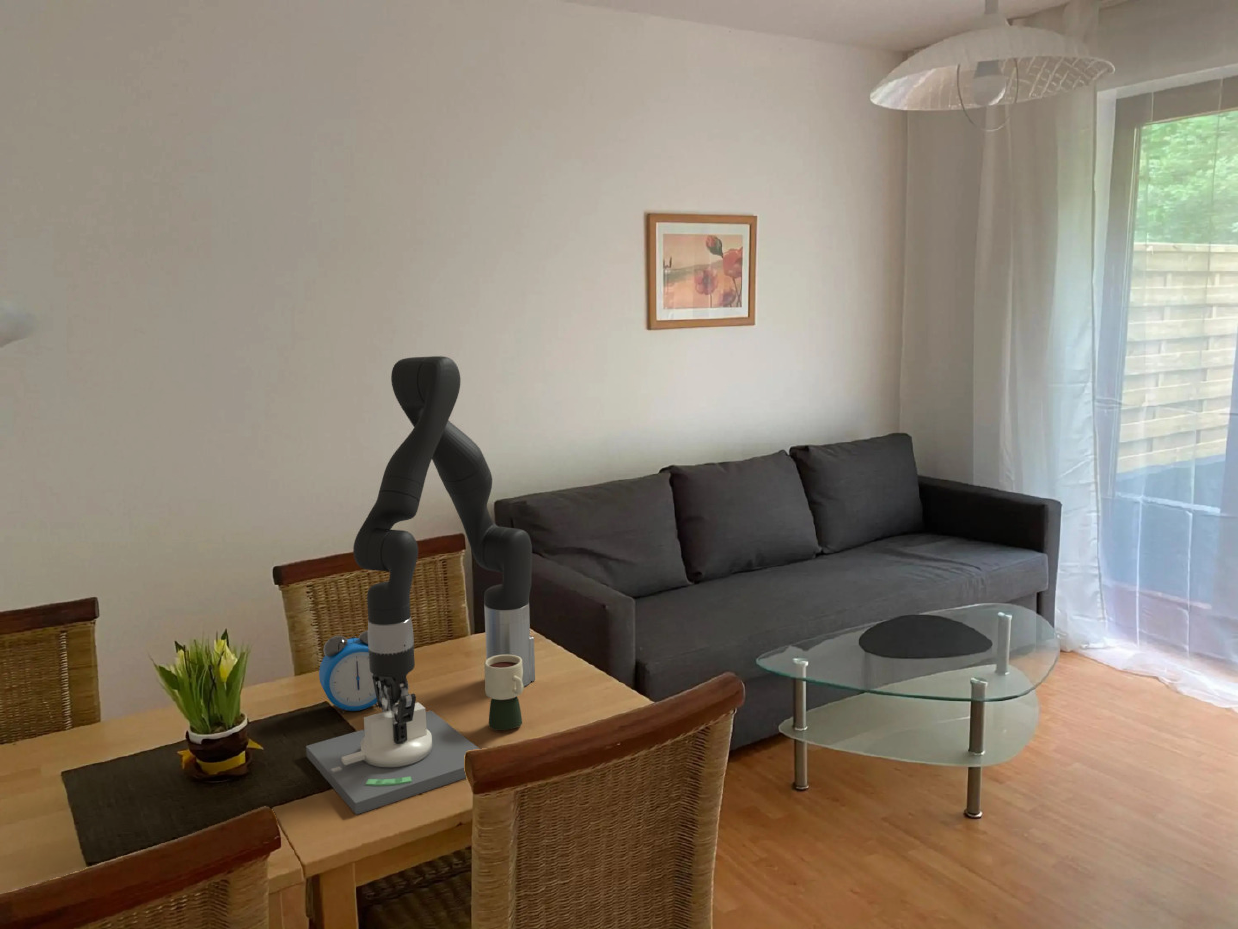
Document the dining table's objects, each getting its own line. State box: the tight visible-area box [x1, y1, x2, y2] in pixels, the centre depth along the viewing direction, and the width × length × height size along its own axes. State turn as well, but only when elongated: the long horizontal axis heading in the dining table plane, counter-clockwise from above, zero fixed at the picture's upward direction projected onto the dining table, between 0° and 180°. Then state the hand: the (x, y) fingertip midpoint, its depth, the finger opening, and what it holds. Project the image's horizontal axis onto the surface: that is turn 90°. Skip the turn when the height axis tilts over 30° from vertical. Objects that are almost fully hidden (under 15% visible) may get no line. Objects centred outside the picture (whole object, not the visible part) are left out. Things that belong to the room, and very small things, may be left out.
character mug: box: [484, 655, 525, 731], centre depth 177 cm, size 11×7×13 cm, turn 40°
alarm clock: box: [318, 630, 378, 714], centre depth 186 cm, size 13×6×15 cm, turn 117°
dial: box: [342, 702, 432, 767], centre depth 162 cm, size 16×12×7 cm
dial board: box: [305, 710, 480, 815], centre depth 164 cm, size 24×24×2 cm
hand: (396, 737), depth 163 cm, fingers closed on dial, 3 cm apart
